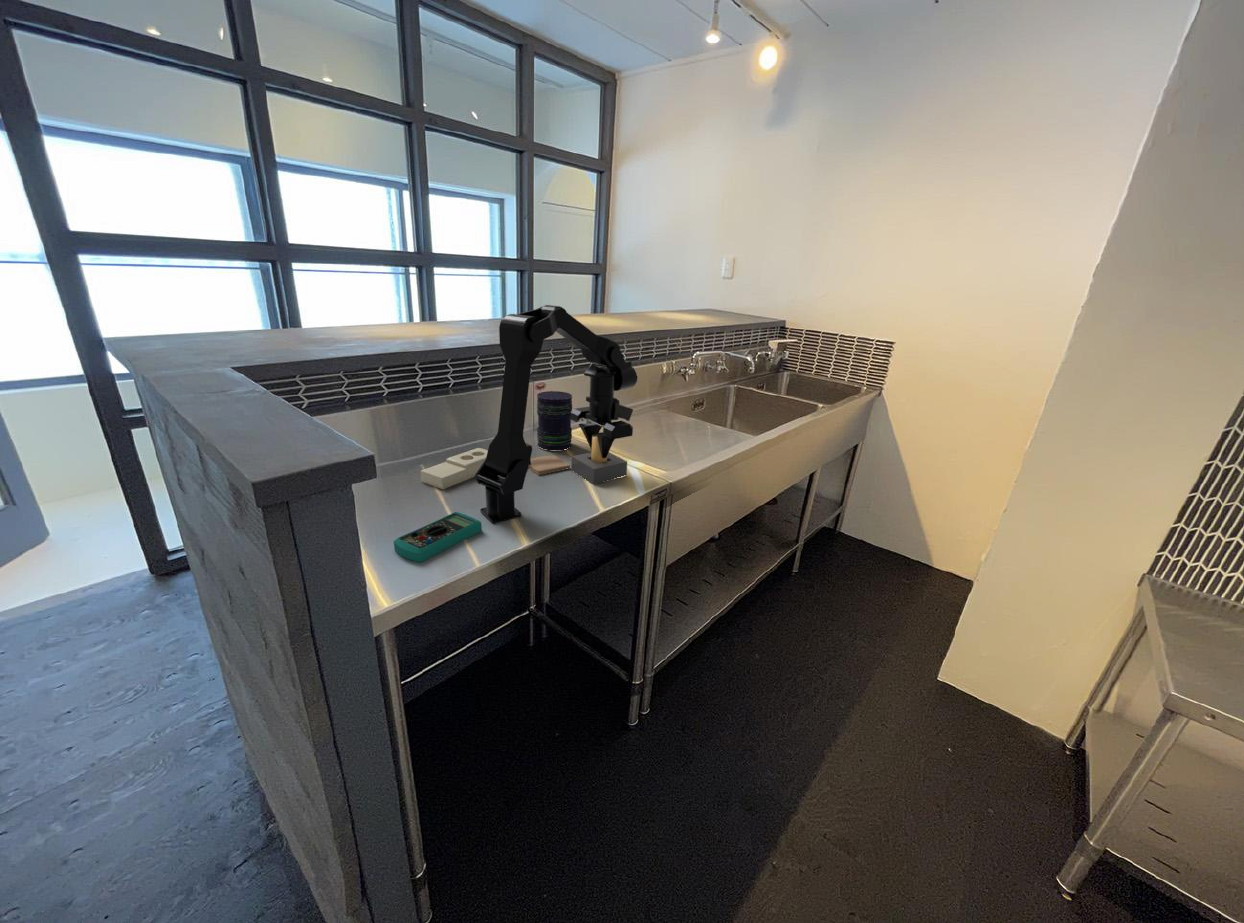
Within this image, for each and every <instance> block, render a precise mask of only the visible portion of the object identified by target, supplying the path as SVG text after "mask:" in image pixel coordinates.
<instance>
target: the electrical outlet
mask: <svg viewBox="0 0 1244 923" xmlns="http://www.w3.org/2000/svg"><path fill="white" fill-rule="evenodd" d="M487 452H488V449H485V448H481V447H476V448H474V449H473V448H472V449H471V450H468V451H466V452H465V451H464V452H462V453H459V454H456V455H453V456H450V457H447V458H446V460H445V461H444V462H442V463H439V464H437V465H433V466H430V467H427V468H425V469H421V470H420V478H421V479H420V480H421V482H422V483H424V484H426V485H429V486H431V487H435V488H438V489H441V490H445V489H448V488H450V487H452V486H456V485H457V484H459V483H462V482H465V481H467V480H470V479H472V478H475V474H476V473H477V471H478V470H479V468H480V467H481V465H482V464H483V462H484V461H485V459H486V456H487Z"/></svg>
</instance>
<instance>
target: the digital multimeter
mask: <svg viewBox="0 0 1244 923" xmlns="http://www.w3.org/2000/svg"><path fill="white" fill-rule="evenodd" d="M482 525H483V524H482V521H480V520H478V519H476V518H475V517H472V516H469V515H467V514H464V513H461V512H459V511H455V512H452V513H450V514H448V515H446V516H443V517H441V518H440V519H437V520H436V521H433V522H431V523H428V524H427V525H425V526H422V527H419V528H418V529H415V530H413V531H411V532H408V533H406V534H404V535H402V536H399V537H397V538H396V539H394V540H393V548H394V551H395V552H396V553H397V554H398V555H399V556H400V557H403V558H405V559H407V560H410V561H414V562H418V563H422V562H424V561H427V560H428V559H430V558H432V557H434V556H436V555H438V554H440V553H441V552H444V551H445V550H446V549H449V548H451V547H452V546H454V545H457V544H459V543H460V542H463V541H465V540H466V539H469V538H471V537H473V536H475V535H477V534H479V533H481V532H482V531H483V529H482Z"/></svg>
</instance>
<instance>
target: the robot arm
mask: <svg viewBox="0 0 1244 923" xmlns="http://www.w3.org/2000/svg"><path fill="white" fill-rule="evenodd" d="M498 328H499V329H498V333H499V347H500V349H501V352H502V355H503V357H504V360H505V363H504V364H505V365H504V372H503V382H502V390H501V400H500V409H499V410H500V411H499V420H498V428H497V434H496V435H495V436H494V438H493V439H492V440H491V442H489V445H488V449H487V450H488V452H487V456H486V459H485V461H484V462H483V464H482V465H481V467H480V468H479V470H478V471H477V473H476V474H475V477H474V478H475V480H476V483H477V484H479V485H482V486H484V487H485V488H484V490H485V504H486V505H485V506H486V507H483V508H482V507H481V508H480V509H479V510H480V513H482V514H483V516H485V518H486V519H488V520H489V522H490V523H492V524H494V523H499V522H503V521H506V520H510V519H513V518H514V519H515V518H518V517H521V516H522V511H520V510H518V508H516V504H515V503H516V499H515V497H516V495H515V492H518V491H520V490H522V489H524V484H525V479H526V477H527V476H526V475H527V473H528V470H529V468H528V467H529V465H531V459H532V458H531V457H532V454H533V453H532V452H533V445H531V444H528V443H527V442H525V438H524V432H525V431H524V429H525V421H526V414H527V404H528V396H529V395H528V394H529V390H530V389H529V388H530V378H531V371H532V365H533V363H534V362H535V360H537V359H536V358H537V357H538V356H539V355H540V353H541V351H542V348H543V343H544V340H546V339H549V338H550V337H552V336H554V334H555V333H557V334H559V335H560V336H562V337H563V338H565V339H566V340H567V341H569V342H570V343H572V344H573V345H574V346H576V347H578V348H579V349H580V350H581V355H582V356H583V357H584V358H585V359H586V360H587V361H588V362H589V363H591V365H590V366H589V368H588V369H586V370H585V372H583V375H584V377H585V376H586V377H590V378H589V396H585V401H586V402H587V403H588V404H589V406H584V407H576V408H572V412H571V421H573V422H575V423H578V422H579V421H580V420H581V422H580V423H579V424H578V427H579V428H580V429H581V431H582V433H583V435H584V437H585V440H586V442H587V444H588V446H589V448H590V450H591V451H590V452H592V435H594V434H597V438H598V442H599V447H600V451H601V455H602V458H606V457H607V455H608V453H610V450H611V447H612V445H613V443H614V441H615V440H616V439H623V438H627V437H632V436H633V434H634V427H633V425H631V424H630V423H628V422H630V420H631V417H632V416H633V415H632V414H633V411H634V409H633V408H632V407H629V406H626V405H623V404H620V400H619V399H618V398H616V397H615V396H614V395H615V394H614V392H618V391H622V390H626V389H630V388H633V387H635V385H636V384H637V383H638V374H637V371H636V370H635V368H634V367H633V366H632V361H631V360H630V361H629V360H625V358H624V355H623V353H622V351H621V346H620V345H619V343H618V341H617V342H616V341H615V340H612V339H610V338H608V337H604V336H602V335H601V336H600V335H598V334H596V333H595V332H593V331H592V330H591V329H590V328H588V327H587V326H585V325H584V324H583V323H582V322H581V321H579V320H577V318H575V317H574V316H572V315H571V314H570V313H569V312H567V310H566V309H565V308H564V307H563V306H560V305H551V304H545V305H543V306H540V307H538V308H536V309H532V310H528V311H524V312H523V311H522V312H520V313H509V314H507V315H506V316H505V317H504V318H501V320H500V322H499V327H498ZM592 364H594V365H592ZM598 366H599V367H598ZM619 418H620V419H623V420H619ZM618 420H619V421H618ZM624 420H625V421H624ZM626 421H627V422H626ZM601 429H602V432H600V431H601Z"/></svg>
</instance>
